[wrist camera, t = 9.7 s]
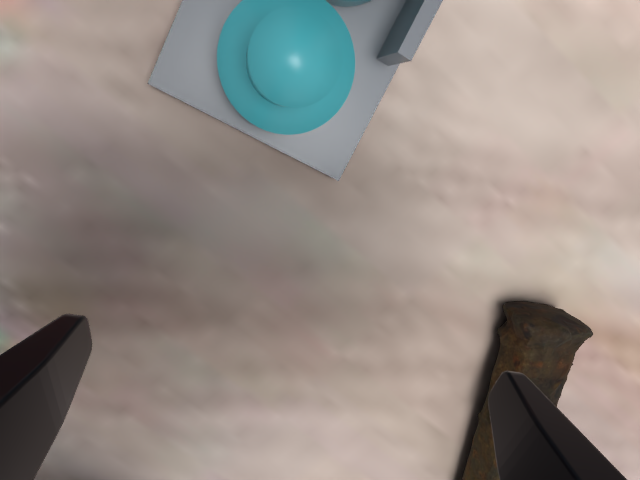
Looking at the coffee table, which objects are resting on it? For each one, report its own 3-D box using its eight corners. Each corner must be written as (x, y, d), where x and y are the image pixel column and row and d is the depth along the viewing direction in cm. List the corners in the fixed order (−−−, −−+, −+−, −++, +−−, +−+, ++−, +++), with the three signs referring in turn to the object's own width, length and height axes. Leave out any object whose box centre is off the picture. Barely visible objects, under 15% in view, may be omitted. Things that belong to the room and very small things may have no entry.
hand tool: (494, 290, 25) (550, 331, 20) (554, 299, 26) (621, 339, 21) (407, 553, 29) (437, 631, 25) (461, 551, 30) (499, 627, 26)
